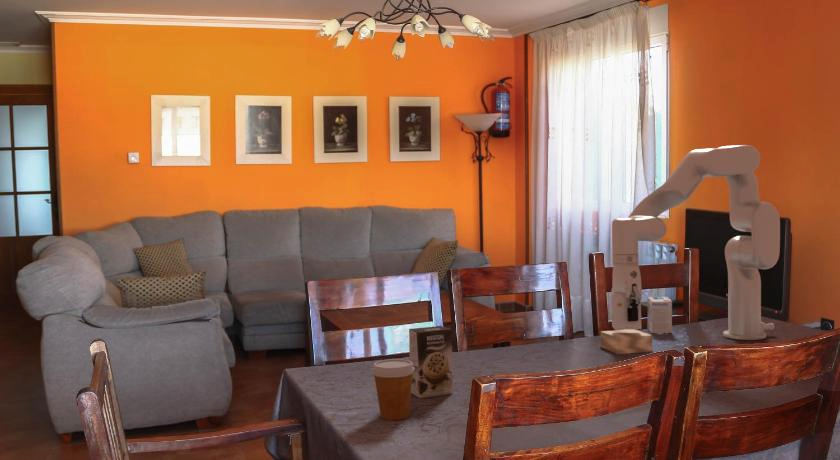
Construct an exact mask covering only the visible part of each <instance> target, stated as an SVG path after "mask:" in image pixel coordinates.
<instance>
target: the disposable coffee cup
mask: <svg viewBox="0 0 840 460" xmlns="http://www.w3.org/2000/svg"><path fill="white" fill-rule="evenodd" d="M414 369H415V368H414V367H413V364H412V362H411V361H410V359H409V360H408V359H402V358H401V359H398V358H392V359H391V358H390V359H384V360H379V361H376V362H374V363H373V367H372V369H371V372H372V375H374V383H375V388H376V395H377V401H378V407H379V408H378V409H379V413H380V414H379V415H380V418H381V419H383V420H387V421H399V420H400V421H401V420H404V419H407V418H408V417H410V405H411V394H412V393H411V385H412V375H413V372H414Z"/></svg>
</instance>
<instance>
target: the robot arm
mask: <svg viewBox="0 0 840 460" xmlns="http://www.w3.org/2000/svg"><path fill="white" fill-rule="evenodd" d="M760 164H761V154H760V152H759V150H758V149H757V148H756V147H755V146H752V145H749V144H741V145H740V144H739V145H725V146H719V147H717V148H715V147H714V148H713V147H712V148H697V149H693V150H690V151H689V152H687V154H686V155H685V156H684V158H682V159H681V161H680V162H679V164H678V165H677V166H676V168H675V169H674V170H673V172H672V173H671V174H670V175H669V177H668V178H667V179H666V180H665V182H663V184H662V185H660V186H659V187H657V188H656V189H655V190H654V191H652V192H651V193H650V194H647V196H646V197H645V198H643V199H642V200H641V201H640V202H638V204H637V205H636V206H635V208H634V209H633V210H632V212H630V214H629V215H628V217H617V218H613V220H612V222H611V245H612V246H611V250H612V251H611V252H612V256H611V257H612V276H611V277H612V283H611V285H612V287H611V289H610V292H616V293H619V294H622V295H623V298H625V299H627V302H628V306H629V308H627V318H628V321H629V322H632V321H638V308H639V303H640V300H641V299H642V295H643V292H642V291H643V288H642V287H643V286H642V276H641V269H640V266H639V242H649V243H651V242H652V243H654V242H655V243H656V242H659V241H660V240H661V239H663V238H664V237H665V236H666V234H667V225H666V223H665V221H664V220H663V219H661V218H660V217H659V216H660V215H662V214H663V213H665V212H666V211H669V210H670V209H673V208H676V207H679V206H681V205H682V204H685V203H686V202H687V201H688V200H689V199H690V198H691V196H692V195H693V194H694V192H695V191H696V190H697V188H698V187H699V186H700V184H702V182H703V181H704V179H706V178H718V177H720V178H721V177H724V178H725V181H726V182H727V185H728V191H729V223H730V226H731V227H732V228H733V229H734V230H737V231H740V232H745V233H747V232H748V233H751V235H736V236H734V237H732V238H730V239H729V240H728V241H727V243H726V245H725V247H724V256H725V257H724V258H725V262H726V268H727V283H728V284H727V288H728V289H727V291H728V293H727V295H728V296H727V301H728V302H727V303H728V305H727V306H728V307H727V310H728V312H727V315H728V316H727V317H728V318H727V320H728V322H727V323H728V325H727V327H728V329H727V330H724V331H723V332H722V335H723V337H724V338H727V339H731V340H737V341H738V340H739V341H740V340H741V341H756V340H757V341H758V340H763V339H766V338H767V333H766V332H765V331H766V330H774V329H775V324H774V323H773V322H770V323H769V322H767V323H765V322H763V321H762V305H761V304H762V296H761V295H762V279H761V274H760V272H759V269H760V270H768V269H771V268H773V267H774V266H775V265H776V264H777V262H778V261H779V258H780V253H781V252H780V248H781V243H780V242H781V220H780V213H779V211H778V209H777V208H776V207H775V206H774V205H773V204H772V203H770V202H766V201H760V191H759V181H758V177H757V176H756V174H755V171H756V170H757V169H758V168H759V165H760ZM632 295H634V296H635V297H630V296H632ZM631 300H633V301H632V303H631Z"/></svg>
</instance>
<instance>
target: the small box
mask: <svg viewBox="0 0 840 460" xmlns="http://www.w3.org/2000/svg"><path fill="white" fill-rule="evenodd" d="M610 292H611V293H610V299H611V301H610V302H611V303H610V304H611V326H612V328H613V329H614V330H625V329H636V330H642V302H641V300H640V303H639V308H638V321H632V322H629V321H628V318H627V308H629V306H628V302H627V299H625V298H623V295H622V294H619V293H616V292H612V291H610ZM630 297H635V296H634V295H632V296H630ZM632 301H633V300H631V303H632Z"/></svg>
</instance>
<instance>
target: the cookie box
mask: <svg viewBox="0 0 840 460" xmlns="http://www.w3.org/2000/svg"><path fill="white" fill-rule="evenodd" d="M452 332H453V331H452V329H451V328H449V327H446V326H442V325H437V326H436V325H435V326H427V327H417V328H416V327H415V328H409V329H408V337H409V338H408V339H409V340H408V342H409V343H408V344H409V346H408V347H409V349H408V350H409V356H408V357H409V361H411V362H412V364H413V367H414V368H415V369H414V372H413V375H412V385H411V394H412V395H414V396H416V397H417V398H419V399H422V398H429V397H430V398H431V397H437V396H445V395H452V394H454V393H453V392H454V390H453V389H454V387H453V385H454V383H453V345H452V344H453V343H452V340H453V339H452Z"/></svg>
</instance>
